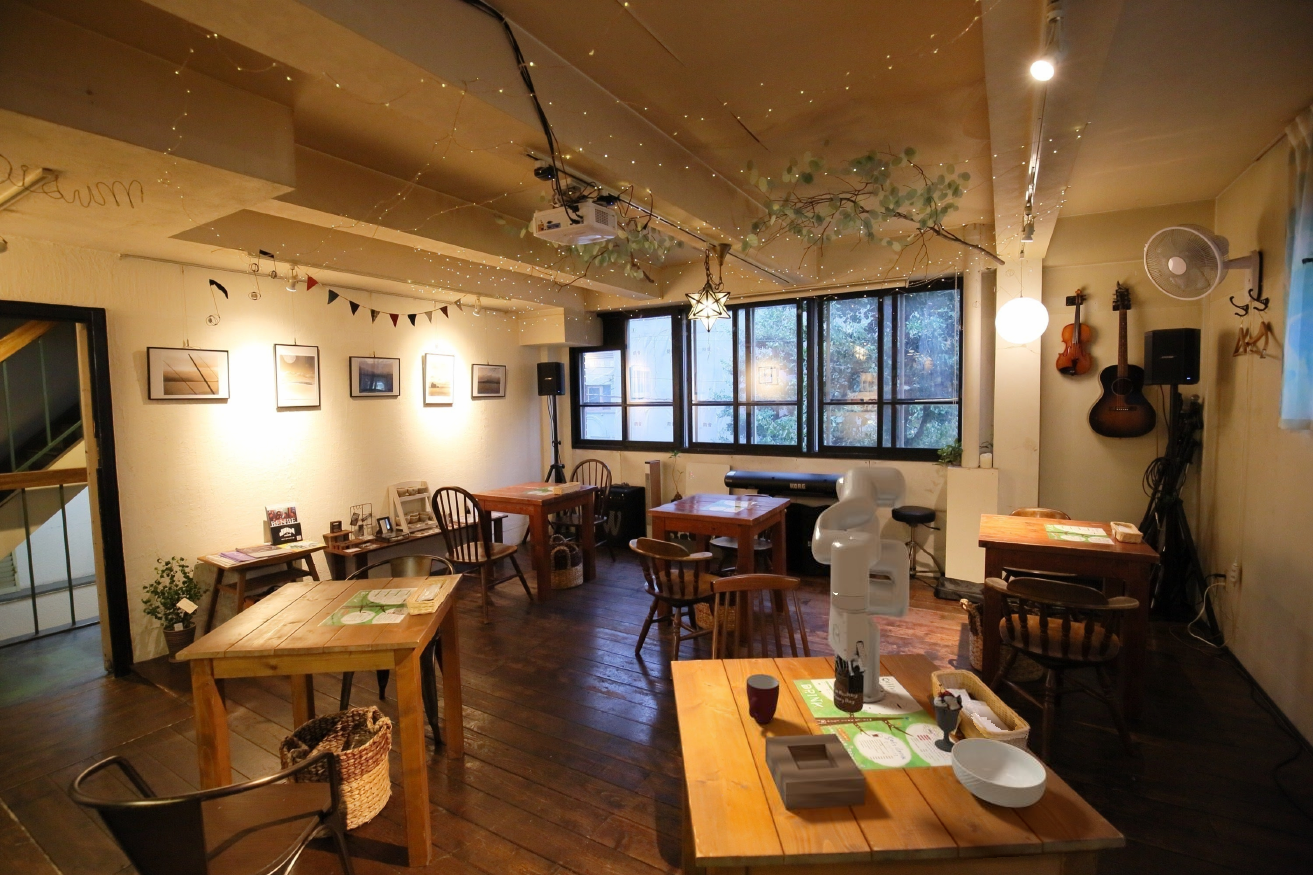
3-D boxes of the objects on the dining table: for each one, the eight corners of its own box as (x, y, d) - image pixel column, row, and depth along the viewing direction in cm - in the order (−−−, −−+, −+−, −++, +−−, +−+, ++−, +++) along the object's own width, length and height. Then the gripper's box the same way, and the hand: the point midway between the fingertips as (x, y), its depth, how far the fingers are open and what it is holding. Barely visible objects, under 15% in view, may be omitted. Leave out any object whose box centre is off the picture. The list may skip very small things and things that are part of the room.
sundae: (926, 746, 139) (927, 683, 139) (936, 734, 144) (937, 673, 143) (956, 757, 135) (958, 692, 134) (965, 745, 140) (967, 682, 139)
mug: (770, 736, 144) (770, 696, 144) (738, 728, 148) (738, 688, 147) (782, 715, 154) (782, 677, 153) (752, 708, 157) (752, 671, 157)
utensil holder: (839, 696, 130) (839, 642, 129) (869, 705, 126) (869, 649, 125) (828, 707, 125) (829, 651, 124) (859, 717, 121) (859, 659, 120)
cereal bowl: (995, 829, 113) (996, 793, 112) (932, 776, 129) (933, 744, 128) (1066, 812, 117) (1068, 777, 117) (997, 762, 133) (998, 731, 133)
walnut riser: (765, 760, 135) (765, 737, 134) (835, 757, 136) (835, 733, 135) (785, 809, 119) (785, 782, 118) (864, 804, 120) (865, 777, 120)
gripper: (816, 587, 132) (816, 667, 133) (849, 615, 115) (848, 707, 116) (849, 586, 133) (849, 665, 134) (887, 613, 116) (885, 704, 117)
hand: (848, 684), depth 125 cm, fingers closed on utensil holder, 5 cm apart
